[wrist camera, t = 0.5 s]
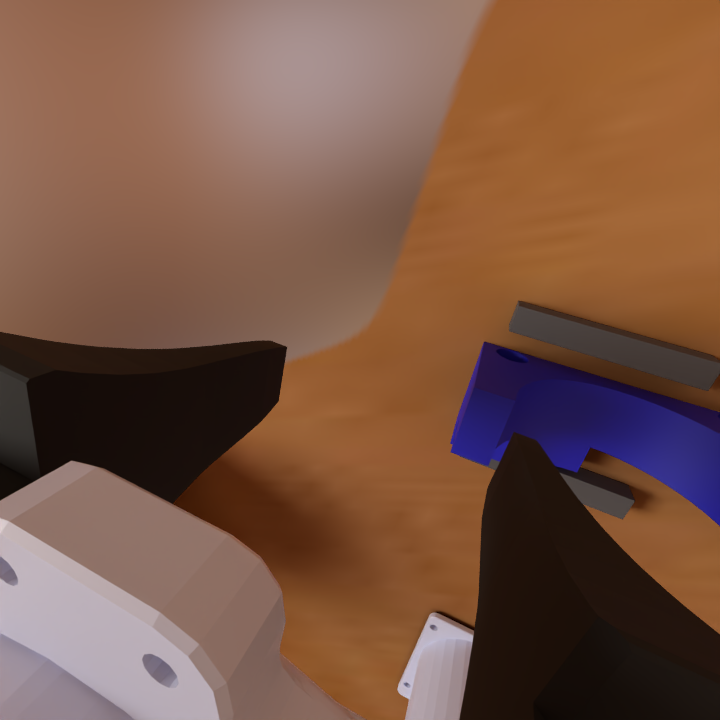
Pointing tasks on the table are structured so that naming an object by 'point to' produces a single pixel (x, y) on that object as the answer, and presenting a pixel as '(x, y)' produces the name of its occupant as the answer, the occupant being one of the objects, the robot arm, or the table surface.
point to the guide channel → (618, 350)
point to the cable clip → (588, 423)
